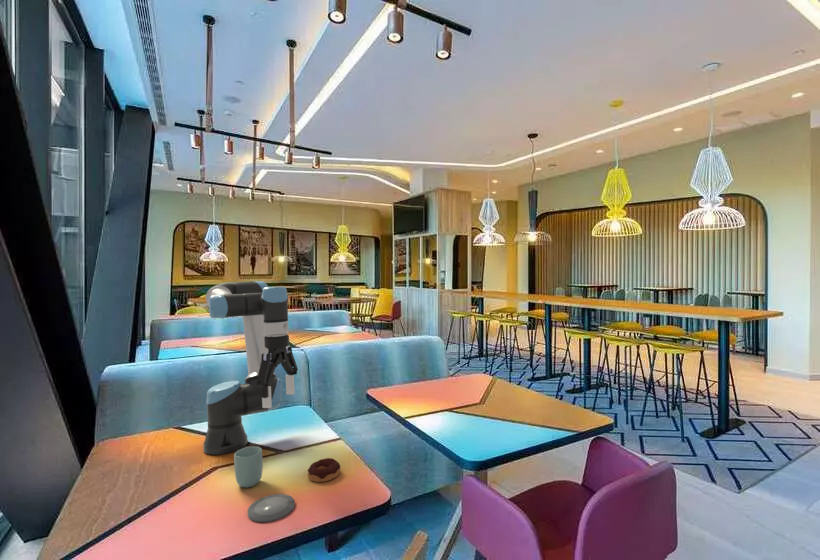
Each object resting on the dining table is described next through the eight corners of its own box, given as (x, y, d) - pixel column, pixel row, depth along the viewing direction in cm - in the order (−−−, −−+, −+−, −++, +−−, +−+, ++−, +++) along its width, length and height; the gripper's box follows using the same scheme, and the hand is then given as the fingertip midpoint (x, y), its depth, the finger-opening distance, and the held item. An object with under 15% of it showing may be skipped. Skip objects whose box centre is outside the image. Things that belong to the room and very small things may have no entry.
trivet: (237, 518, 106) (237, 515, 106) (266, 494, 117) (266, 491, 117) (277, 525, 102) (277, 521, 102) (303, 499, 114) (302, 496, 114)
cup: (253, 491, 119) (252, 457, 119) (230, 490, 120) (228, 456, 120) (268, 478, 127) (266, 446, 126) (245, 477, 128) (244, 445, 128)
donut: (310, 487, 121) (310, 474, 121) (305, 473, 130) (304, 460, 130) (344, 479, 125) (343, 466, 125) (336, 466, 134) (336, 454, 134)
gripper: (264, 341, 117) (267, 414, 117) (306, 329, 141) (308, 389, 142) (241, 341, 119) (244, 413, 119) (286, 329, 143) (289, 389, 143)
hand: (279, 400), depth 130 cm, fingers open, 13 cm apart
